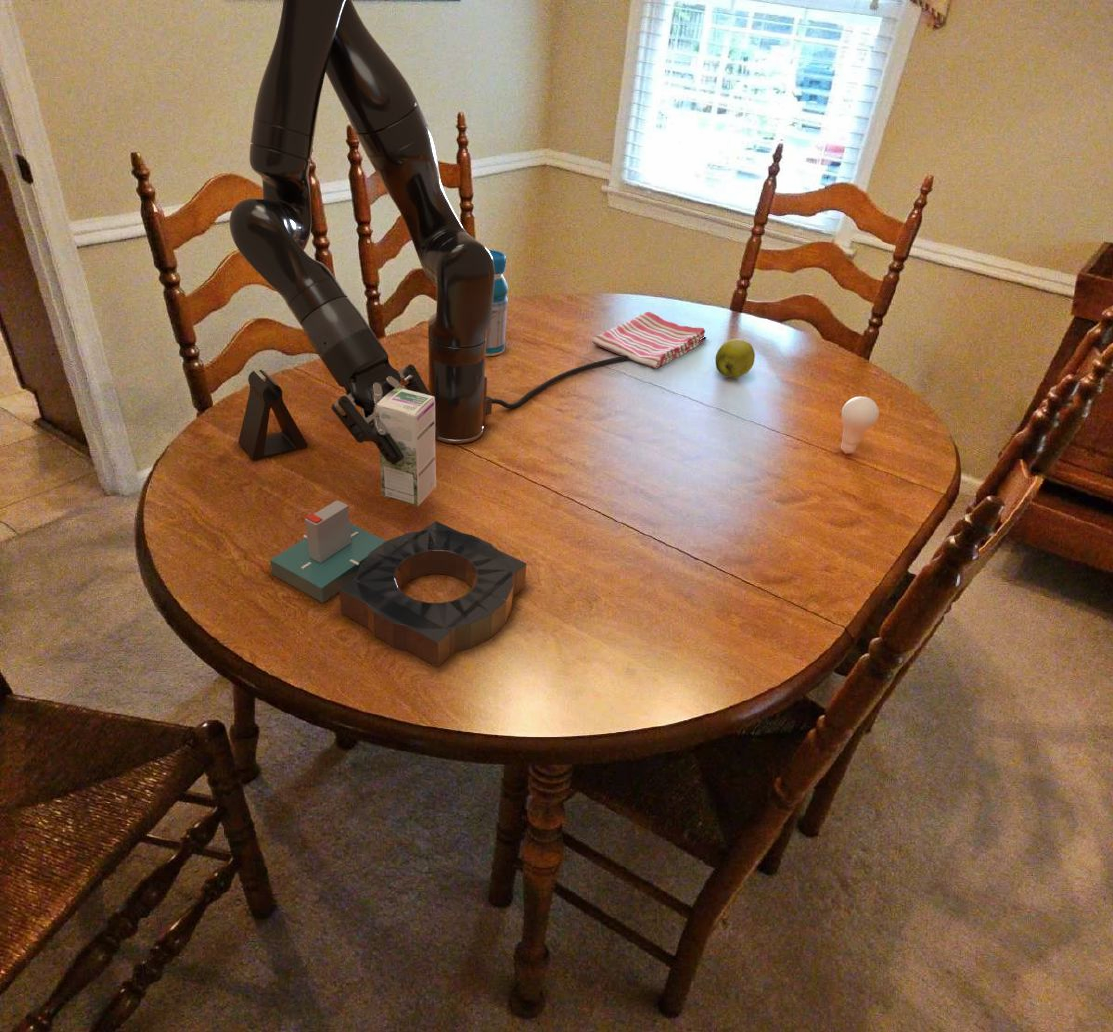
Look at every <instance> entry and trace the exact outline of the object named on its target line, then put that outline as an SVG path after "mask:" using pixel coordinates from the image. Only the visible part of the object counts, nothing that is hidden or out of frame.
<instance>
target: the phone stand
mask: <svg viewBox="0 0 1113 1032" xmlns="http://www.w3.org/2000/svg"><path fill="white" fill-rule="evenodd" d="M258 371H259V373H261V375H262V376H263V377H264V378H265V380H264V379H263V378H262V377H261V376H260V375H259V374H257V372H256V371H255V370H252V371H251V372H250V373H249V375H248V377H247V381H248V384H249V393H248V397H247V402H246V406H245V411H244V416H243V420H242V424H241V429H240V433H239V437H238V445H240V447H241V448H242V450H243V451H244V452H245V453H246V454H247V455H248V457H249V458H250V459H251V461H253V462H256V461H260V460H265V459H268V458H271V457H276V456H278V455H280V454H282V455H283V454H286V453H290V452H295V451H299V450H302V449H306V448H308V446H309V445H308V443H307V441H306V439H305V438H304V436H303V434H302V432H301V431H300V428H299V426H298V425H297V423H296V421H295V420H294V418H293V416H292V415H291V412H290V411H289V409H288V408H287V406H286V404H285V401H284V399H283V388H282V387H281V386H280V385H279V384H278V383H277V382H276V381H275V380H274V379H273V378H272V377H271V376H270V375H269V374H268V373H267V372H266V371H264V370H263V369H259V370H258ZM271 410H272V412H273V415H274V417H275V419H276V421H277V424H278V426H279V428H280V430H281V431H280V432H276V433H272V434H268V428H269V427H268V426H269V422H270V421H269V420H270V413H271ZM267 434H268V435H267Z"/></svg>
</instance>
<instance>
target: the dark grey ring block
mask: <svg viewBox="0 0 1113 1032" xmlns="http://www.w3.org/2000/svg"><path fill="white" fill-rule="evenodd" d="M430 575H446V576H449V577H454V578H456V579H459V580H461V581H462V582H465V583H466V584H467V585H468V586H469V587H470V588H471V590H469V592H467V593H466V594H465V595H463V596H461V597H458V598H456V599H454V600H450V601H444V602H426V601H422V600H417V599H414V598H412V597H410V596H408V595H407V594H405V593H404V592H403V591H402V590H401V589H402V588H403V587H404V586H405V585H406V584H408V583H409V582H410V581H412V580H413V581H414V580H415V579H417V578H420V577H423V576H425V577H426V576H430ZM526 577H527V562H525V561H523V560H521V559H518V558H517V557H515V556H512V555H510V554H508V553H506V552H504V551H501V550H499V549H498V548H497V547H496V546H494V545H493V544H492V543H490V542H488V541H486V540H484V539H482V538H480V537H478V536H475V535H473V534H469V533H466V532H465V533H464V532H461V531H459V530H456V529H455V528H452V527H450V526H448V525H446V524H443V523H442V522H440V521H438V520H434V521H432V522H431V523H430V524H428V525H427V526H426V527H424V528H423V529H421V530H419V531H413V532H406V533H404V534H401V535H399V536H396V537H393V538H390V539H388V540H386V542H384V543H383V544H381V545H380V546H379V547H377V548H376V549H374V550H373V551H371V552H370V553H369V554H368V556H367V557H366V558H365V560H364V561H363V562H362V564H361V565H360V567H359V572H358V576H356V577H355V578H354V579H352V580H351V581H349V582H348V583H347V584H345V585H344V586H342V587H341V588H340V589H339V592H338V593H339V600H340V601H339V605H340V613H341V615H342V616H345V617H346V618H348V619H350V620H351V621H354V622H356V623H357V624H359V625H361V626H362V627H364V628H366V629H368V630H369V631H370V632H371V634H372V635H373V636H374V637H375V638H376V639H378V640H381V641H382V642H384V643H386V644H388V645H389V646H391V647H393V648H395V649H399V650H403V651H406V652H409V653H410V654H412V655H414V656H416V657H418V658H420V659H421V660H423V661H425V662H427V663H429V664H430V665H432V666H434V667H435V668H439V667H440V666H441V665H442V664H443V663H444V662H445V661H446V660H448V658H450V657H451V656H452V655H453V654H454V653H456V652H461V651H465V650H469V649H472V648H474V647H475V646H478V645H480V644H481V643H484V642H486V641H488V640H490V639H491V638H492V637H493V636H494V635H495V634H496V633H498V631H499V630H501V629H502V628H503V627H504V625H506V622H507V620H508V618H509V615H510V613H511V611H512V609H513V608H512V607H513V598H514V597H515V596H517V595H518V594H519V593H520V592H521V591H522V590H523V589H524V588H525V586H526Z"/></svg>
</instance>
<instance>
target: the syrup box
mask: <svg viewBox="0 0 1113 1032" xmlns="http://www.w3.org/2000/svg"><path fill="white" fill-rule="evenodd" d="M376 405H377V406H376V408H377V412H378V413H379V415H380V417H379V418H380V420H381V421H382V422H383V424H384V425H385V428H386V434H388V433H389V434H390V436H391V437H392V439H393V440H394V442H395V443H396V445H397V446H398V448H399V449H400V450H401V452H402V453H403V455H404V458H403V459H402V460H401V461H399V462H398V463H396V464H395V465H393V464H391V462H388V461H387V460H386V459H385V458H384V456H383V455H382V453H381V452H380V450H379V449H378V451H379V452H378V453H379V467H380V480H381V481H380V482H381V483H380V485H381V496H382V497H384V498H387V499H390V500H393V501H394V500H395V501H397V502H401V503H405V504H409V505H412V506H416V507H419V506H420V505H421V504H422V503H423V502H424V501H425V500H426V499H427V498H428V497H429V496H430V495H431V494H432V492H434V490H435V489H436V487H437V471H436V469H437V467H436V440H435V397H434V396H430V395H426V394H422V393H418V392H414V391H410V390H406V389H402V388H397V389H394V390H392V391H391V392H389V393H388V394H387V395H386V396H384V397H383V398H382V399H381V400H380V401H379V402H378V403H377V404H376Z"/></svg>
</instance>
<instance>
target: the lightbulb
mask: <svg viewBox="0 0 1113 1032" xmlns="http://www.w3.org/2000/svg"><path fill="white" fill-rule="evenodd" d="M879 415H880V410H879V407H878V405H877V402H875V401H874V400H873V399H871V398H870V397H868V396H855V397H853V398H852V397H851V398H850V399H849V400H848V401H846V402H845V404H844V405H843V407H842V409H841V421H842V425H843V432H842V436H841V439H842V440H841V444H840V450H841V451H842V452H843V453H844V454H845V455H849V454H853V453H855V451H856V449H857V447H858V444H859V443H861V440H862V438H863V437H864V435H865V434H866V433H867V432H868V431H869V430H871V428H873V427H874V426H875V425H876V423H877V422H878V420H879V417H880V416H879Z"/></svg>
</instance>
